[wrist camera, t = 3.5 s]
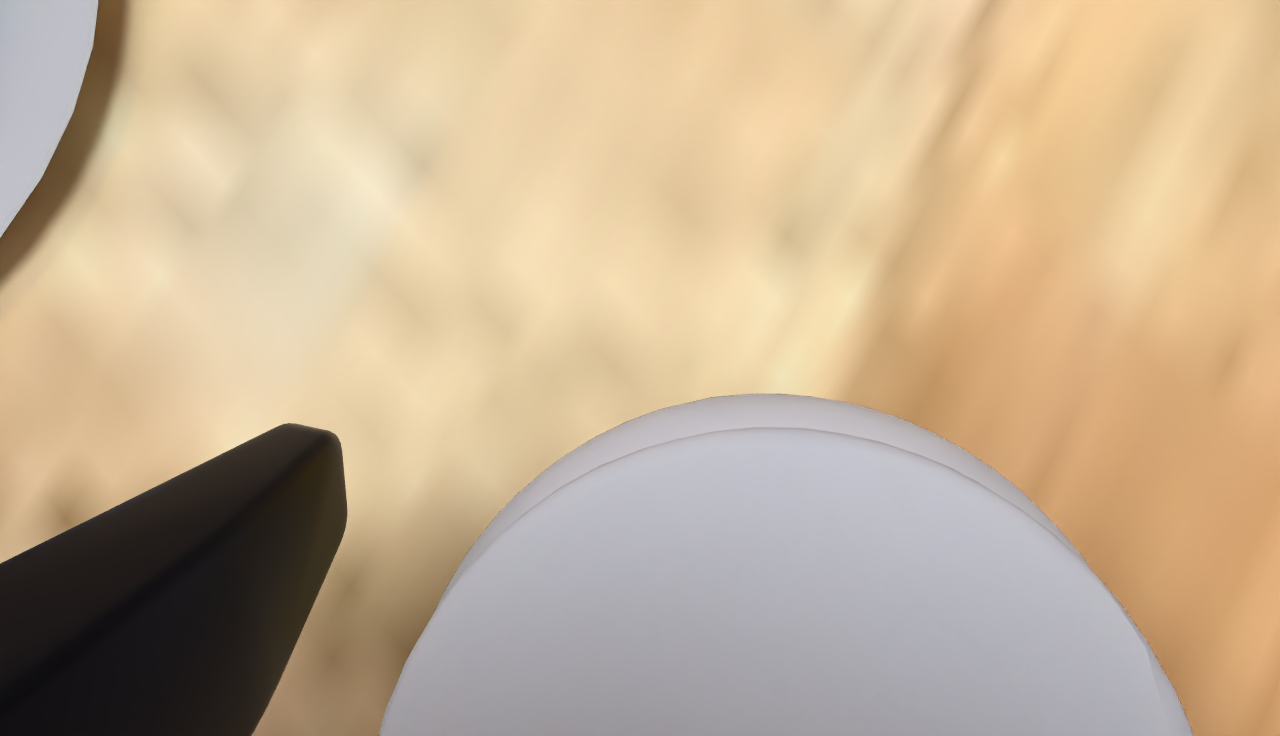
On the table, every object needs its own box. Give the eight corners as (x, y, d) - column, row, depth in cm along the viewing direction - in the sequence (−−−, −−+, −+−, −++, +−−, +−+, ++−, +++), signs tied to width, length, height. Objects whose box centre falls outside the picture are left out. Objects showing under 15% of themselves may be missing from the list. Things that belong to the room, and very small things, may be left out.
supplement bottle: (1019, 540, 15) (1513, 454, 5) (923, 971, 14) (1298, 1831, 4) (622, 432, 15) (405, 182, 6) (507, 834, 15) (39, 1299, 5)
